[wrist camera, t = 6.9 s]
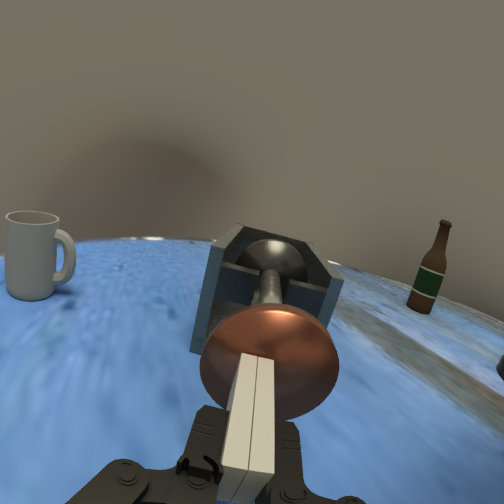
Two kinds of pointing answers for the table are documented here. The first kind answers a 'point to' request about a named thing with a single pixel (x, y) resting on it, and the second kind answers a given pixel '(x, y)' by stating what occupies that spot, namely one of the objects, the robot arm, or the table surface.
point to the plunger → (273, 337)
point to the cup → (35, 255)
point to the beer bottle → (430, 273)
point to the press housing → (245, 280)
